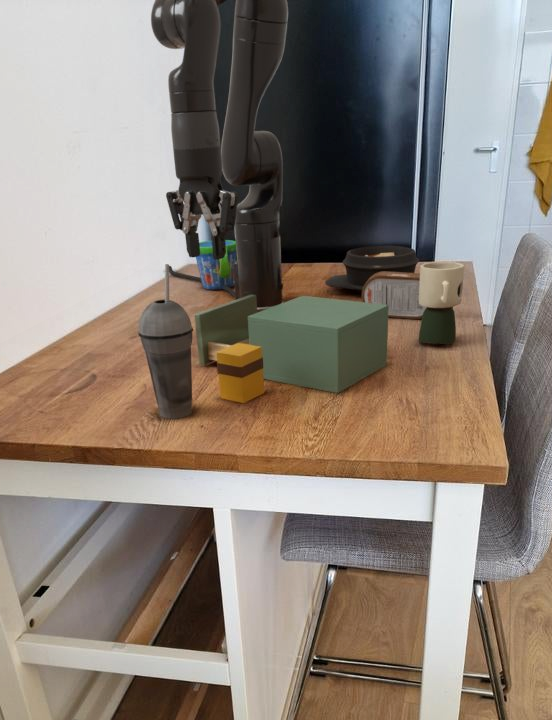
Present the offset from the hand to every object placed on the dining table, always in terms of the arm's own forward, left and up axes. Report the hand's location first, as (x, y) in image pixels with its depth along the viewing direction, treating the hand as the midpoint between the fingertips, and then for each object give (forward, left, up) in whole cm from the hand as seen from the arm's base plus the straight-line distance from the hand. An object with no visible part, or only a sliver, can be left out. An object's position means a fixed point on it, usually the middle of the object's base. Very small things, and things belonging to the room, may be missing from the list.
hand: (206, 257), depth 120 cm
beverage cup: (+16, -28, -16) cm, 36 cm away
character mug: (+34, +19, -16) cm, 42 cm away
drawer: (+13, -3, -15) cm, 20 cm away
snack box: (+21, -18, -15) cm, 31 cm away
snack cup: (-32, +39, -16) cm, 53 cm away
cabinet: (+24, -3, -15) cm, 29 cm away
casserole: (+5, +52, -16) cm, 55 cm away
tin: (+20, +32, -16) cm, 41 cm away
